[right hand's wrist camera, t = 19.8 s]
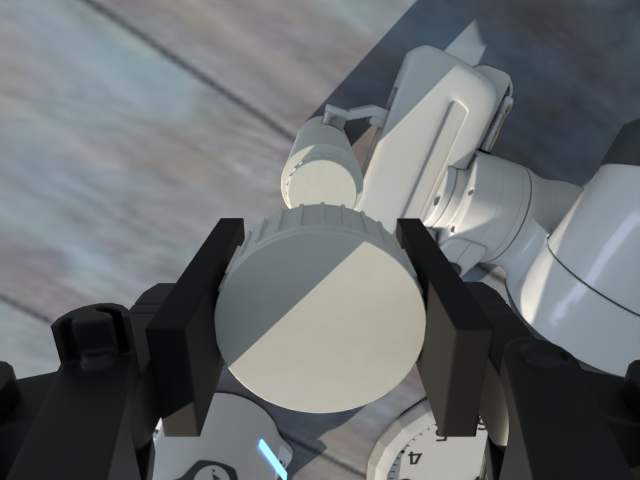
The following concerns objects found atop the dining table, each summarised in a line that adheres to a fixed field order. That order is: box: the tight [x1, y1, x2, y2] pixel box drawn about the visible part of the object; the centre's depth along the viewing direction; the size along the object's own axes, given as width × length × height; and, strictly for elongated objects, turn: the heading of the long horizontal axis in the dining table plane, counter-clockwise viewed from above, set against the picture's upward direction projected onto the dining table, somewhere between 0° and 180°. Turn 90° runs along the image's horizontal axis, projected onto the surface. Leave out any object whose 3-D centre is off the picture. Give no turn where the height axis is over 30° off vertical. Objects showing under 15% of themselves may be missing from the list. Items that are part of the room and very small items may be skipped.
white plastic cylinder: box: [281, 116, 363, 210], centre depth 31 cm, size 5×5×19 cm
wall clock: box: [366, 399, 488, 480], centre depth 55 cm, size 30×2×30 cm
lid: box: [214, 202, 426, 413], centre depth 11 cm, size 5×5×2 cm
